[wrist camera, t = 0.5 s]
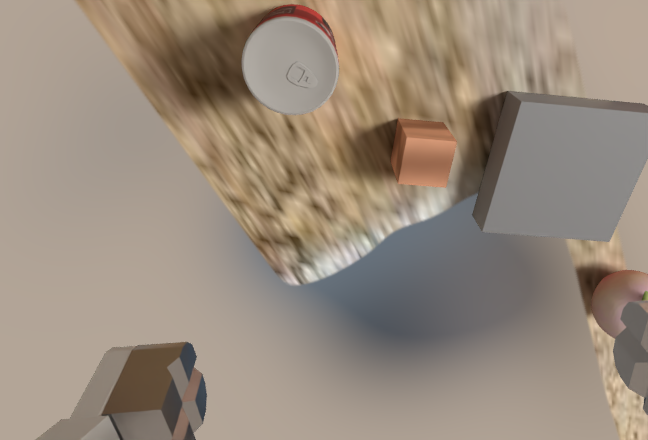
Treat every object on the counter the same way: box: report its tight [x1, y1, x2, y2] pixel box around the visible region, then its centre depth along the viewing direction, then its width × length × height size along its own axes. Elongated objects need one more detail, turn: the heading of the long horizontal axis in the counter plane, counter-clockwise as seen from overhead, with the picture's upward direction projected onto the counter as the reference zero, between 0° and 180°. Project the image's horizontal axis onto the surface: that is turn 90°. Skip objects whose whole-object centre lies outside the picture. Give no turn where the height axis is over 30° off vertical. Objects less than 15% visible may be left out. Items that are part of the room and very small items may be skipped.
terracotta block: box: [391, 118, 457, 188], centre depth 50 cm, size 5×5×6 cm
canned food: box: [242, 4, 339, 115], centre depth 43 cm, size 8×8×11 cm
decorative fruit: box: [591, 270, 648, 338], centre depth 58 cm, size 9×8×10 cm
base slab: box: [472, 91, 648, 242], centre depth 52 cm, size 15×15×4 cm
